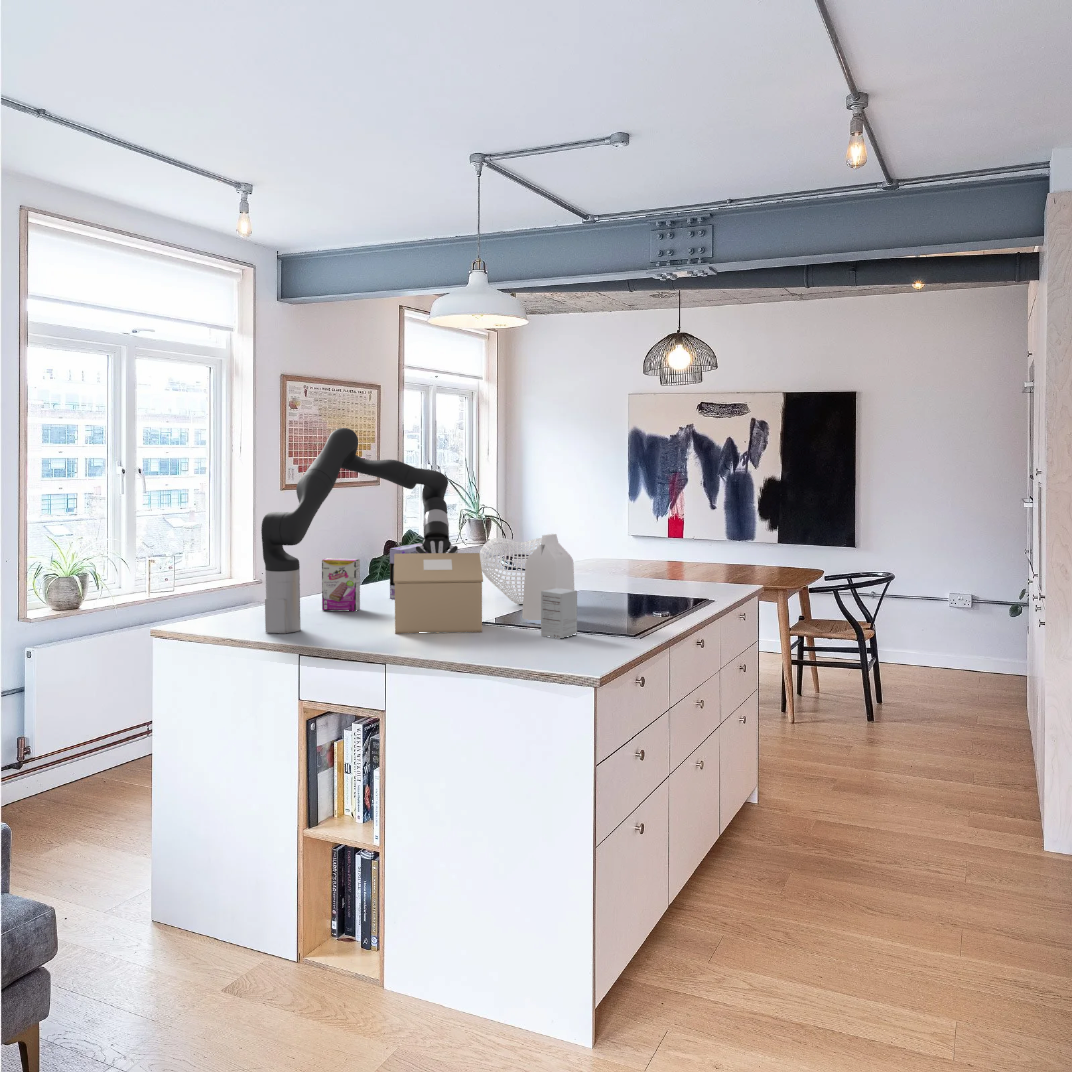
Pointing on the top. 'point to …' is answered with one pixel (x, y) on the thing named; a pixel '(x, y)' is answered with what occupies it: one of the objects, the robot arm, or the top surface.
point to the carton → (438, 607)
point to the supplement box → (558, 612)
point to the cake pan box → (398, 550)
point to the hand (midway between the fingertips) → (437, 573)
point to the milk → (546, 574)
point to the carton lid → (437, 567)
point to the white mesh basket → (485, 571)
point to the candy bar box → (340, 584)
